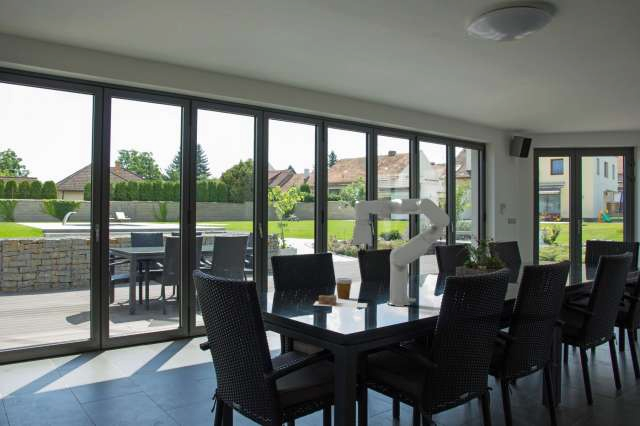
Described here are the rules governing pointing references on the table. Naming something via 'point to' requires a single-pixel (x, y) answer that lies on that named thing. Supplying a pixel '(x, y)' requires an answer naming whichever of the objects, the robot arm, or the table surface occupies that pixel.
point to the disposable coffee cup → (343, 287)
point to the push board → (343, 304)
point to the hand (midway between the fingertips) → (362, 256)
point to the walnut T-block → (327, 299)
